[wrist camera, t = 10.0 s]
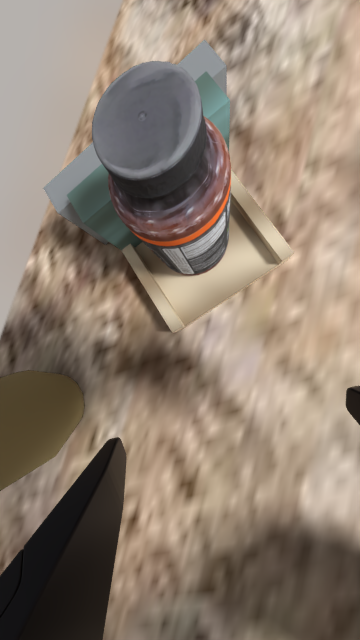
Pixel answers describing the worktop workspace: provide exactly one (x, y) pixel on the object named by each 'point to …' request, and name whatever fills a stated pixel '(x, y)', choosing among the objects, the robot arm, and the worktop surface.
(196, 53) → the backstop wall
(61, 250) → the worktop surface
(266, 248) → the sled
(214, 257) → the supplement bottle
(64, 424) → the squeeze bottle
